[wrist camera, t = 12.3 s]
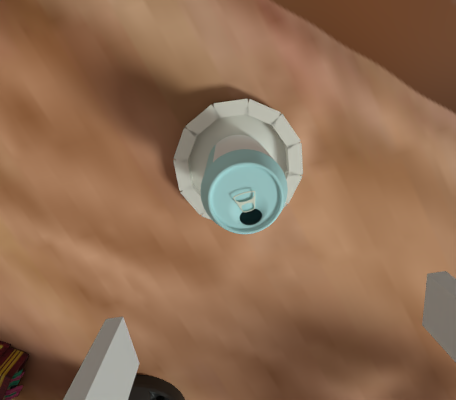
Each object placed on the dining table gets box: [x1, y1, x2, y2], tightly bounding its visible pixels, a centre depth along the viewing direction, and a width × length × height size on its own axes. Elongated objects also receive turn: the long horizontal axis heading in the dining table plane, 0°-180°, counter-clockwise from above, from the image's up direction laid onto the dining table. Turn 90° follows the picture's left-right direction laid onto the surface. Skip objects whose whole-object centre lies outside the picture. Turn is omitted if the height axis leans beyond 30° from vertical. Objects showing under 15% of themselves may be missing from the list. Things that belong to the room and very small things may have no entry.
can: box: [200, 135, 288, 234], centre depth 27 cm, size 7×7×12 cm
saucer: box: [173, 99, 303, 220], centre depth 32 cm, size 14×14×2 cm
